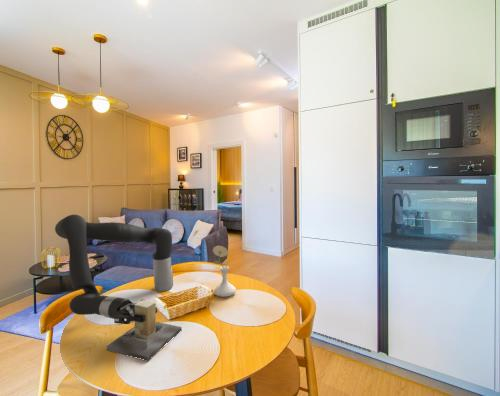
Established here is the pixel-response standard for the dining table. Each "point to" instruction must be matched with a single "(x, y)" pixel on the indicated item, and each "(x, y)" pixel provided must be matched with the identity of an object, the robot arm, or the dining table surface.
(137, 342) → the holder board
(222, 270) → the flower in vase
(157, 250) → the robot arm
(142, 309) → the skincare box
